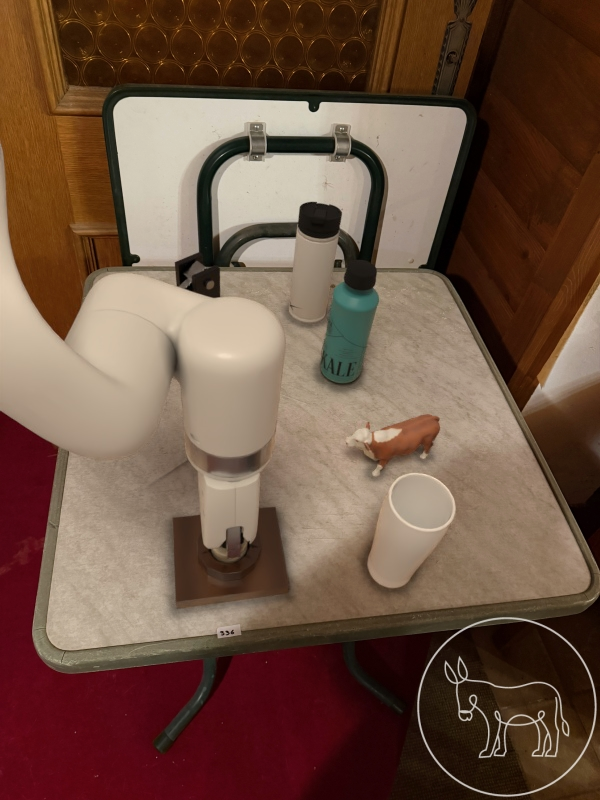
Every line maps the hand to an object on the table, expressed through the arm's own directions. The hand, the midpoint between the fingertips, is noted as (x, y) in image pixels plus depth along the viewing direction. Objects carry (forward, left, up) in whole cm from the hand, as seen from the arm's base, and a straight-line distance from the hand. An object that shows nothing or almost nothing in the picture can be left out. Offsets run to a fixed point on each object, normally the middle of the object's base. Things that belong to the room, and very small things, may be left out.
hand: (228, 538), depth 60 cm
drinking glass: (+11, -15, -5) cm, 19 cm away
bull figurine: (+24, -7, -5) cm, 26 cm away
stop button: (0, 0, -2) cm, 2 cm away
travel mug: (+41, +19, -5) cm, 45 cm away
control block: (0, 0, -5) cm, 5 cm away
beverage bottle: (+33, +7, -5) cm, 34 cm away
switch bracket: (+27, +30, -5) cm, 41 cm away
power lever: (+23, +30, +1) cm, 38 cm away
